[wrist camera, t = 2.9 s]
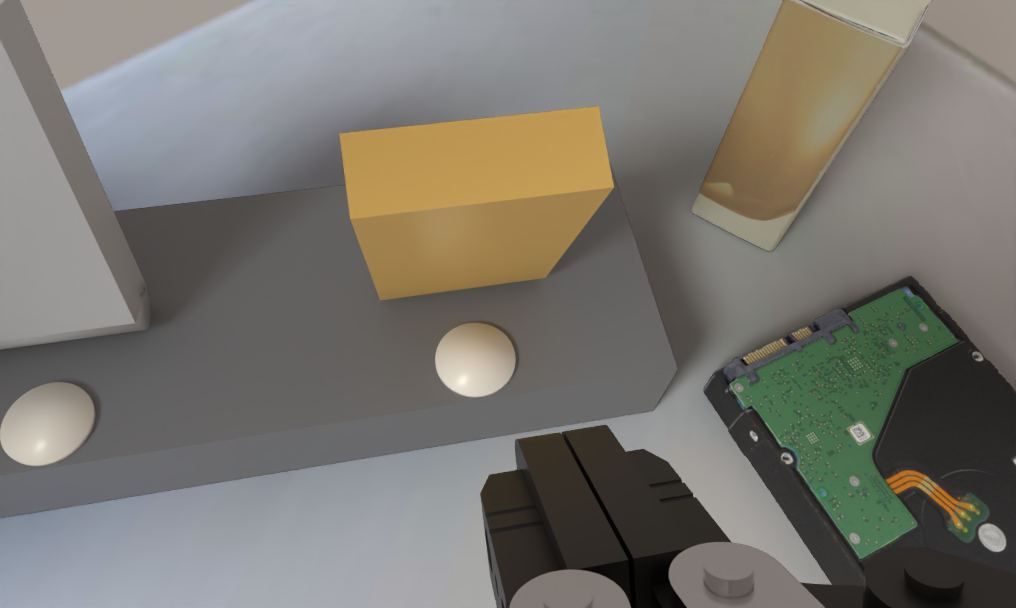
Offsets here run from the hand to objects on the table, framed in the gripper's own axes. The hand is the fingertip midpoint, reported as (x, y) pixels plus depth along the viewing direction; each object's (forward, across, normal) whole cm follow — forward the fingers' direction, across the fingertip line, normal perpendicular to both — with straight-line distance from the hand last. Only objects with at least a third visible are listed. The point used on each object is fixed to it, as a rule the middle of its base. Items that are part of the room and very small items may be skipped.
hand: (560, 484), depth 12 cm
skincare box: (+23, -15, 0) cm, 27 cm away
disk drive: (+12, -16, +10) cm, 23 cm away
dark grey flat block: (+19, +7, +3) cm, 20 cm away
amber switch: (+15, 0, -1) cm, 15 cm away
